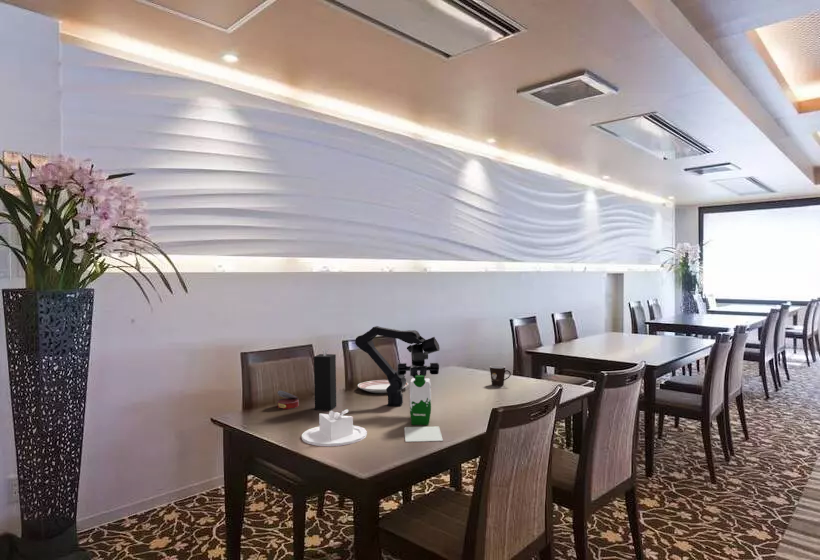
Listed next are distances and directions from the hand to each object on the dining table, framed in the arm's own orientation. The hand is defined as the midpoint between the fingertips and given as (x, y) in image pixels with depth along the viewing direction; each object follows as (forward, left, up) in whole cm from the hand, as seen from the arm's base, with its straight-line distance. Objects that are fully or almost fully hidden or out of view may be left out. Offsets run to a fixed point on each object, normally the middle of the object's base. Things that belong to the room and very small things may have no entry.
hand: (419, 384), depth 237 cm
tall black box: (-45, +5, -13) cm, 47 cm away
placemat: (+5, -30, -13) cm, 33 cm away
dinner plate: (-26, +47, -13) cm, 55 cm away
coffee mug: (+36, +62, -13) cm, 73 cm away
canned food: (-64, +7, -13) cm, 65 cm away
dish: (-29, -35, -13) cm, 47 cm away
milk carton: (+2, -14, -13) cm, 20 cm away
